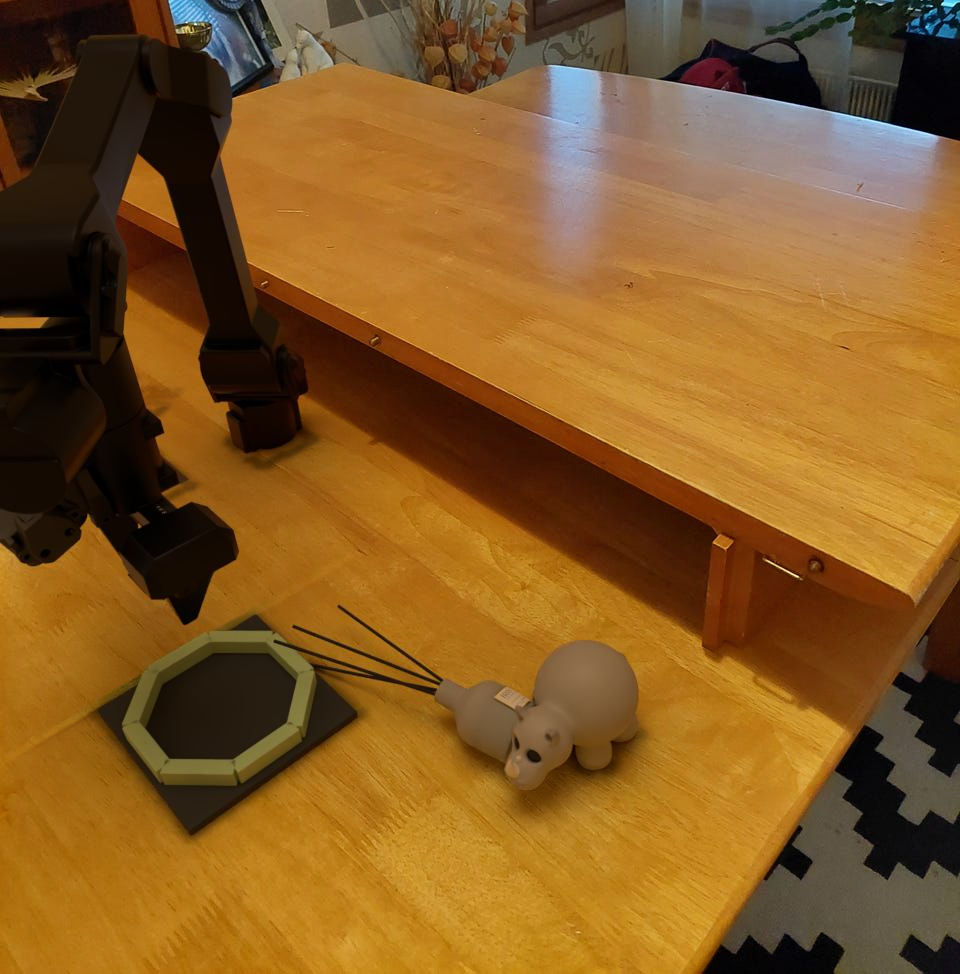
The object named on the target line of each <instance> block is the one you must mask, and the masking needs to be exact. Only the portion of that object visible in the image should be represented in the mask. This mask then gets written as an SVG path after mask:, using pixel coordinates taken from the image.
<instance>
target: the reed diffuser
mask: <svg viewBox="0 0 960 974" xmlns="http://www.w3.org/2000/svg"><path fill="white" fill-rule="evenodd" d="M336 607H337V609H339V610H340V611H342V612H343V613H344V614H346V615H347V616H349V617H350V618H351V619H353V620H354V621H355V622H357V623H358V624H359V625H361V626H362V627H363V628H365V629H366V630H368V631H369V632H371V633H372V634H373V635H375V636H376V637H378V638H379V639H380V640H382V641H383V642H385V643H386V644H387V645H388V646H390V647H391V648H392V649H394V650H395V651H397V652H398V653H400V654H401V655H402V656H404V657H405V658H407V660H410V661H411V662H412V663H413V664H415V665H417V666H418V667H419V668H420V669H421V670H423V671H424V672H426V673H428V674H429V675H430V676H432V677H433V678H434V679H432V678H430V677H427V676H425V675H423V674H420V673H418V672H416V671H412V670H409V669H407V668H406V667H402V666H400V665H398V664H395V663H392V662H389V661H387V660H384V659H382V658H379V657H377V656H374V655H372V654H369V653H367V652H364V651H362V650H359V649H357V648H354V647H351V646H349V645H346V644H344V643H342V642H340V641H336V640H334V639H332V638H328V637H326V636H324V635H321V634H318V633H316V632H313V631H311V630H308V629H306V628H303V627H301V626H298V625H296V624H292V626H291V628H292V629H294V630H296V631H299V632H302V633H304V634H307V635H310V636H312V637H315V638H317V639H319V640H322V641H324V642H327V643H329V644H331V645H334V646H337V647H338V648H339V647H340V648H342V649H345V650H347V651H350V652H353V653H355V654H358V655H359V656H362V657H365V658H367V659H370V660H373V661H376V662H378V663H380V664H382V665H385V666H388V667H390V668H392V669H395V670H398V671H400V672H403V673H405V674H407V675H410V676H413V677H415V678H418V679H421V680H423V681H426V682H428V683H431V684H434V685H436V686H437V688H436V687H431V686H427V685H421V684H416V683H412V682H406V681H403V680H399V679H396V678H393V677H391V676H387V675H384V674H381V673H378V672H375V671H372V670H369V669H367V668H363V667H361V666H358V665H354V664H351V663H349V662H348V663H347V662H346V661H345V662H344V661H342V660H339V659H336V658H333V657H329V656H328V655H324V654H320V653H317V652H314V651H312V650H308V649H306V648H303V647H299V646H296V645H293V644H290V643H288V642H287V643H285V642H282V641H279V640H276V639H274V641H273V643H276V644H279V645H282V646H285V647H288V648H291V649H294V650H296V651H297V652H301V653H304V654H305V655H306V654H307V655H310V656H312V657H315V658H319V659H320V660H321V659H322V660H324V661H327V662H330V663H334V664H336V665H340V666H343V667H346V668H349V669H352V670H355V671H351V670H346V669H342V668H337V667H331V666H327V665H321V664H316V663H311V662H308V663H309V664H310V665H311V666H312V667H313V668H314V669H320V670H325V671H329V672H335V673H340V674H345V675H350V676H356V677H360V678H364V679H370V680H373V681H379V682H385V683H389V684H394V685H400V686H403V687H406V688H409V689H412V690H415V691H419V692H422V693H424V694H426V695H430V696H433V701H434V702H435V703H436V704H438V705H440V706H442V707H444V708H445V709H447V710H449V711H450V712H452V713H454V718H455V725H456V731H457V734H458V736H459V738H460V739H461V740H462V741H463V742H464V743H466V744H468V745H469V746H471V747H473V748H474V749H476V750H479V751H480V752H483V753H484V754H486V755H488V756H489V757H492V758H494V759H496V760H497V761H500V762H502V763H503V764H506V761H507V759H508V757H509V755H510V753H511V751H512V736H511V731H512V726H513V724H514V722H515V720H516V719H517V714H516V712H515V706H518V705H519V706H521V707H523V708H525V709H526V710H527V709H529V708H531V707H535V706H536V704H535V699H534V690H533V691H532V699H530V698H529V697H527V696H525V695H524V694H522V693H519V692H518V691H516V690H514V689H513V688H511V687H509V686H508V685H503V684H501V683H499V682H497V681H495V680H484V681H480V682H479V683H477V684H474V685H473V686H471V687H469V688H467V687H464V686H463V685H460V684H459V683H457V682H455V681H452V680H451V679H449V678H443V677H441V676H439V675H438V674H437V673H435V672H434V671H432V670H431V669H430V668H429V667H427V666H426V665H424V664H423V663H422V662H420V661H419V660H417V659H415V658H414V657H413V656H412V655H410V654H408V653H407V652H406V651H405V650H404V649H402V648H400V647H399V646H397V645H396V644H395V643H394V642H392V641H391V640H389V639H387V638H386V637H385V636H384V635H382V634H381V633H379V632H378V631H377V630H376V629H374V628H372V627H371V626H369V625H368V624H367V623H366V622H364V621H363V620H361V619H360V618H359V617H358V616H356V615H354V614H353V613H352V612H350V611H349V610H348V609H346V608H344V607H343V606H342V605H340V604H338V605H337V606H336ZM356 671H357V672H356Z"/></svg>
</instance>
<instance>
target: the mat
mask: <svg viewBox="0 0 960 974" xmlns="http://www.w3.org/2000/svg"><path fill="white" fill-rule="evenodd" d="M227 631H273V634H275V633H276V632H275V631H274V630H273V629H272V628H271V627H270V626H269V625H268V624H267V623H266V622H264V621H263V619H262V618H261V617H260V616H258V614H256V613H255V614H253V615H251V616H250V617H249V618H246V619H245V620H243V621H242V622H241V623H238V624H237V625H235V626H233V627H231V628H230V629H228V630H227ZM315 676H316V680H317V685H316V689H315V694H314V699H313V703H312V708H311V712H310V717H309V722H308V726H307V731H306V735H305V737H301V739H302V742H300V743H299V744H298V745H296V746H295V747H293V748H292V749H291V750H289V751H288V752H286V753H285V754H283V755H282V756H281V757H279V758H278V759H276V760H275V761H274V762H272V763H271V764H269V765H268V766H266V767H265V768H264V769H262V770H261V771H259V772H258V773H257V774H255V775H254V776H252V777H251V778H249V779H248V780H247V781H245V782H244V783H240V781H239V780H238V783H237V786H213V785H165V784H164V782H162V783H160V782H159V781H158V779H157V778H156V777H155V775H154V774H153V773H152V771H151V770H150V769H149V768H148V766H147V765H146V764H145V762H144V761H143V760H142V758H141V757H140V756H139V755H138V753H137V752H136V751H135V749H134V748H133V747H132V745H131V744H130V743H129V741H128V740H127V738H126V736H125V734H124V731H123V729H122V728H123V726H122V723H123V720H124V718H125V715H126V713H127V711H128V708H129V706H130V703H131V701H132V698H133V696H134V693H135V691H136V688H137V686H138V684H136V685H135V686H133V687H132V688H130V689H128V690H126V691H125V692H123V693H122V694H120V695H118V696H117V697H115V698H113V699H112V700H110V701H108V702H106V703H105V704H103V705H102V706H100V707H98V708H97V712H98V714H99V715H100V717H101V719H103V721H104V723H105V724H106V725H107V727H108V728H109V729H110V731H111V732H112V733H113V735H114V736H115V737H116V739H117V740H118V741H119V742H120V744H121V745H122V746H123V748H124V749H125V750H126V752H127V753H128V754H129V756H130V757H131V758H132V760H133V761H134V762H135V764H136V765H137V767H138V768H139V769H140V770H141V772H142V773H143V774H144V776H145V777H146V778H147V780H148V781H149V782H150V784H151V785H152V786H153V788H154V789H155V790H156V791H157V793H158V795H160V796H161V798H162V799H163V800H164V802H165V803H166V804H167V806H168V807H169V809H170V810H171V811H172V813H173V814H174V815H175V817H176V818H177V819H178V821H179V822H180V823H181V824H182V826H183V827H184V828H185V830H186V832H188V834H189V835H190V836H192V835H194V834H195V833H196V832H198V831H199V830H200V829H202V828H204V827H205V826H206V825H208V824H209V823H211V822H212V821H214V820H215V819H216V818H218V817H219V816H220V815H222V814H223V813H225V812H226V811H228V810H229V809H230V808H231V807H233V806H234V805H236V804H237V803H239V802H240V801H241V800H243V799H244V798H245V797H247V796H248V795H250V794H251V793H252V792H254V791H255V790H257V789H259V787H261V786H262V785H264V784H265V783H267V782H268V781H270V779H273V778H274V777H275V776H276V775H278V774H279V773H281V772H283V770H285V769H286V768H287V767H289V766H290V765H292V764H293V763H295V762H296V761H297V760H299V759H300V758H301V757H303V756H305V755H306V754H307V753H309V752H310V751H312V750H313V749H315V748H316V747H317V746H319V745H320V744H322V742H324V741H325V740H327V739H328V738H329V737H330V736H332V735H334V734H335V733H337V732H338V731H339V730H341V729H342V728H344V727H345V726H346V725H348V724H349V723H350V722H352V721H353V720H355V719H356V718H357V717H358V716H359V715H358V711H357V710H356V709H355V708H354V707H353V706H352V705H351V704H350V703H349V702H348V701H347V700H345V698H343V696H341V695H340V694H339V692H337V691H336V690H335V689H334V688H333V687H332V686H331V685H330V684H329V683H328V682H327V681H326V680H325V679H324V678H323V677H321V675H319V673H317V671H315ZM296 682H297V680H296V679H295V678H294V677H293V676H292V675H291V674H290V673H289V672H287V671H286V670H285V669H284V668H283V667H282V666H281V665H280V664H279V663H278V662H277V661H276V660H275V659H274V658H273V657H272V656H271V655H270V654H269V653H213V654H211V655H210V656H208V657H207V658H205V659H203V660H202V661H200V662H198V663H197V664H195V665H193V666H192V667H190V668H189V669H187V670H185V671H184V672H182V673H180V674H179V675H177V676H175V677H174V678H172V679H170V680H169V681H167V682H166V683H164V684H162V687H161V689H160V692H159V694H158V697H157V700H156V702H155V705H154V708H153V710H152V713H151V715H150V718H149V721H148V723H147V726H146V730H147V732H148V733H149V734H150V735H151V737H152V738H153V739H154V740H155V742H156V743H157V744H158V745H159V747H160V748H161V749H162V750H163V752H164V753H165V754H166V755H167V757H168V758H169V759H215V760H233V759H235V758H236V757H238V756H239V755H240V754H242V753H243V752H245V751H246V750H248V749H249V748H251V747H252V746H254V745H255V744H256V743H258V742H259V741H261V740H262V739H264V738H265V737H267V736H268V735H270V734H271V733H272V732H274V731H275V730H277V729H278V728H280V727H281V726H283V725H284V724H286V723H287V720H288V716H289V712H290V707H291V703H292V699H293V695H294V691H295V686H296Z"/></svg>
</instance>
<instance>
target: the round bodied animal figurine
mask: <svg viewBox="0 0 960 974" xmlns="http://www.w3.org/2000/svg"><path fill="white" fill-rule="evenodd" d="M533 686H534V687H533V688H534V689H533V691H534V699H535V704H536V706H535V707H531V708H529V709H527V710H526V709H525V708H523V707H521V706H519V705H518V706H515V712H516V714H517V719H516V720H515V722H514V724H513V726H512V731H511V736H512V751H511V753H510V755H509V757H508V759H507V761H506V763H505V766H504V768H503V771H504V773H505V775H506V776H507V779H508V781H509V783H510V784H511V785H512V786H513V787H515V788H516V789H519V790H523V791H531V790H535V789H536V788H538V787H539V786H540V785H541V784H542V783H543V782H544V780H545V779H546V777H547V775H548V773H550V771H552V770H554V769H556V768H558V767H560V766H561V765H563V764H564V763H566V761H568V759H569V757H570V756H571V753H572V751H573V746H575V750H574V751H575V756H576V759H577V761H578V763H579V764H580V765H581V766H582V768H584V769H585V770H586V769H587V770H591V771H596V770H600V769H604V768H606V767H607V766H608V765H609V764H610V762H611V760H612V757H613V746H612V741H613V742H617V743H618V742H619V743H622V742H628V741H630V740H631V739H633V738H634V737H635V736H636V734H637V732H638V728H639V722H638V721H639V719H638V716H637V710H638V704H639V697H640V691H639V690H640V689H639V684H638V679H637V677H636V674H635V672H634V670H633V667H632V665H631V664H630V663H629V662H628V658H627V656H626V655H625V654H624V653H623V652H621V651H618V650H616V649H615V648H614V647H612V646H611V645H609V644H607V643H604V642H601V641H597V640H592V639H591V640H590V639H579V640H573V641H569V642H567V643H565V644H562V645H560V646H558V647H557V648H556V649H554V650H552V651H551V652H550V653H549V654H548V655H547V657H546V658H545V659H544V660H543V662H542V663H541V665H540V666H539V669H538V670H537V673H536V677H535V680H534V685H533Z"/></svg>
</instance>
